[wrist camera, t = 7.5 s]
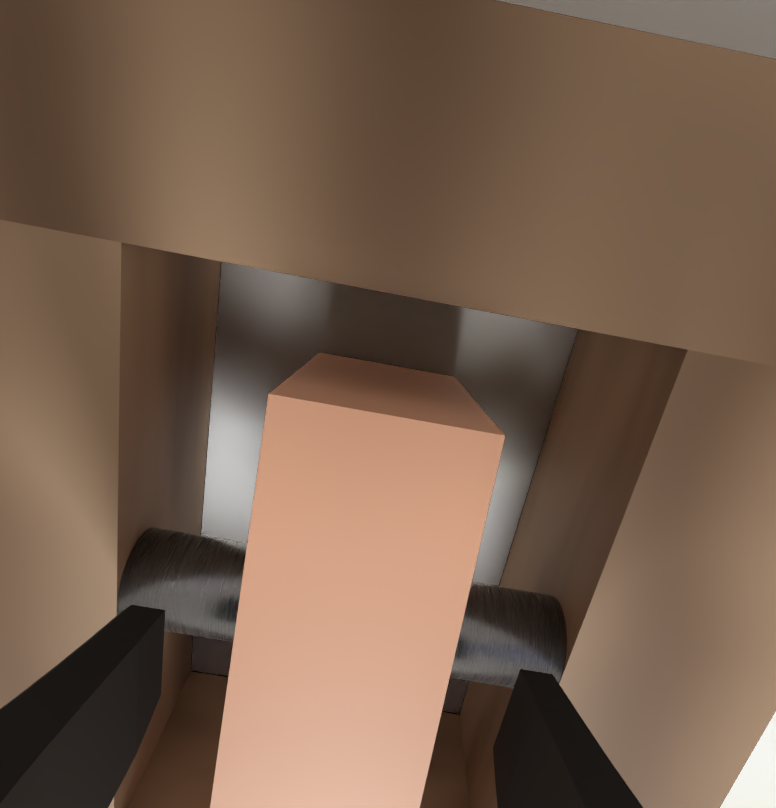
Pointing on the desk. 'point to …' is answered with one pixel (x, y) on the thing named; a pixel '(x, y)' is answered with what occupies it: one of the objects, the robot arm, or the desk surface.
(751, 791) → the desk surface
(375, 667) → the pink notched block
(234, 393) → the desk surface
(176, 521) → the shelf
